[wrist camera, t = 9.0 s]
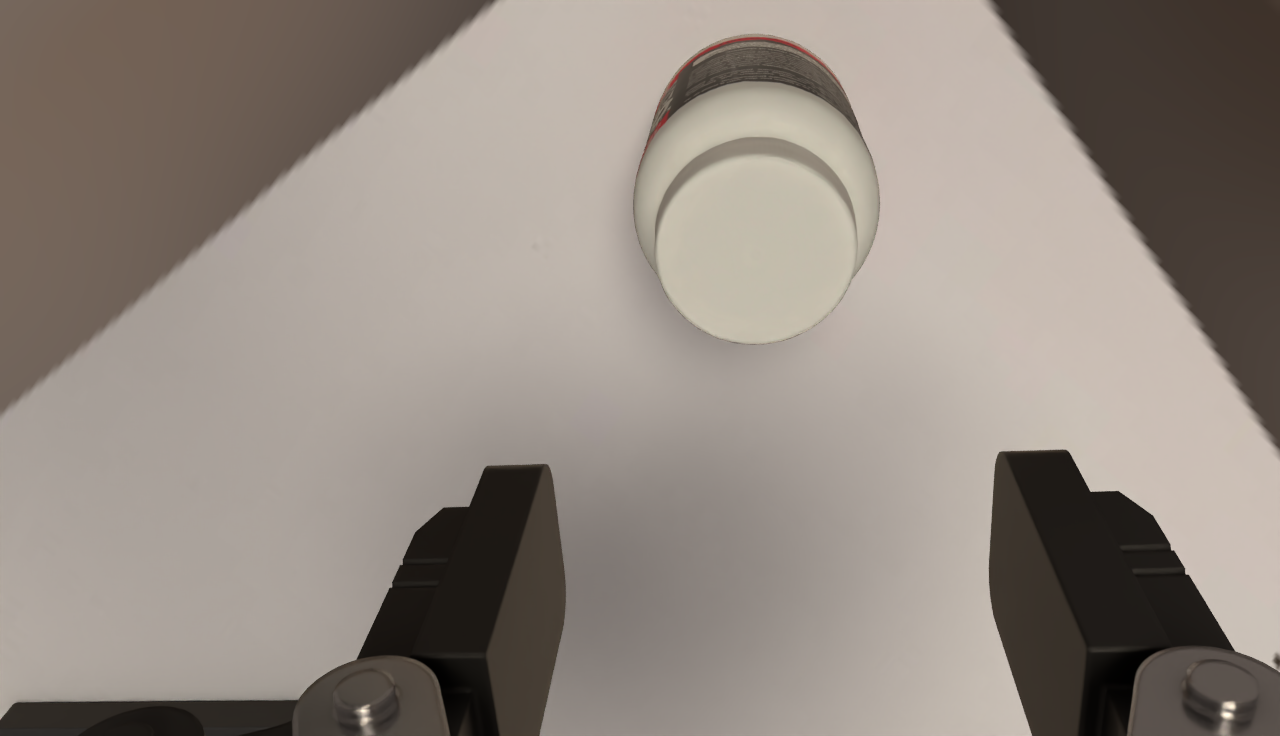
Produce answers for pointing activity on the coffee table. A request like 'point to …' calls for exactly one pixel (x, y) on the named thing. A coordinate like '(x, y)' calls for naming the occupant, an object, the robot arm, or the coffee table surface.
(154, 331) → the coffee table surface
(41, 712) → the scale
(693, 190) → the pill bottle
